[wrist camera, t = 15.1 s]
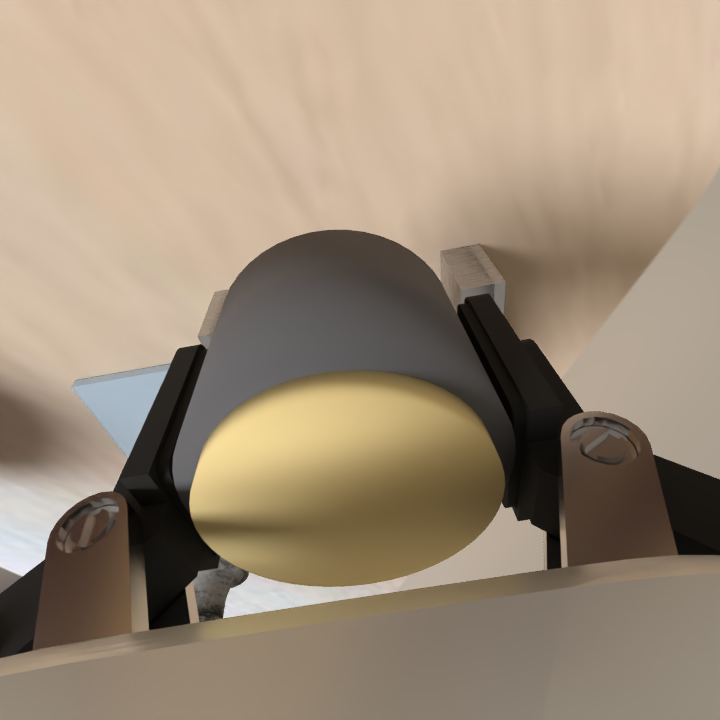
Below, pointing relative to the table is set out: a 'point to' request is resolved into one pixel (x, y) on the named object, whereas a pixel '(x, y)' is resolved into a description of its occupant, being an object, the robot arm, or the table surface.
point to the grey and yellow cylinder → (341, 419)
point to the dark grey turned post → (216, 589)
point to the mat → (122, 401)
